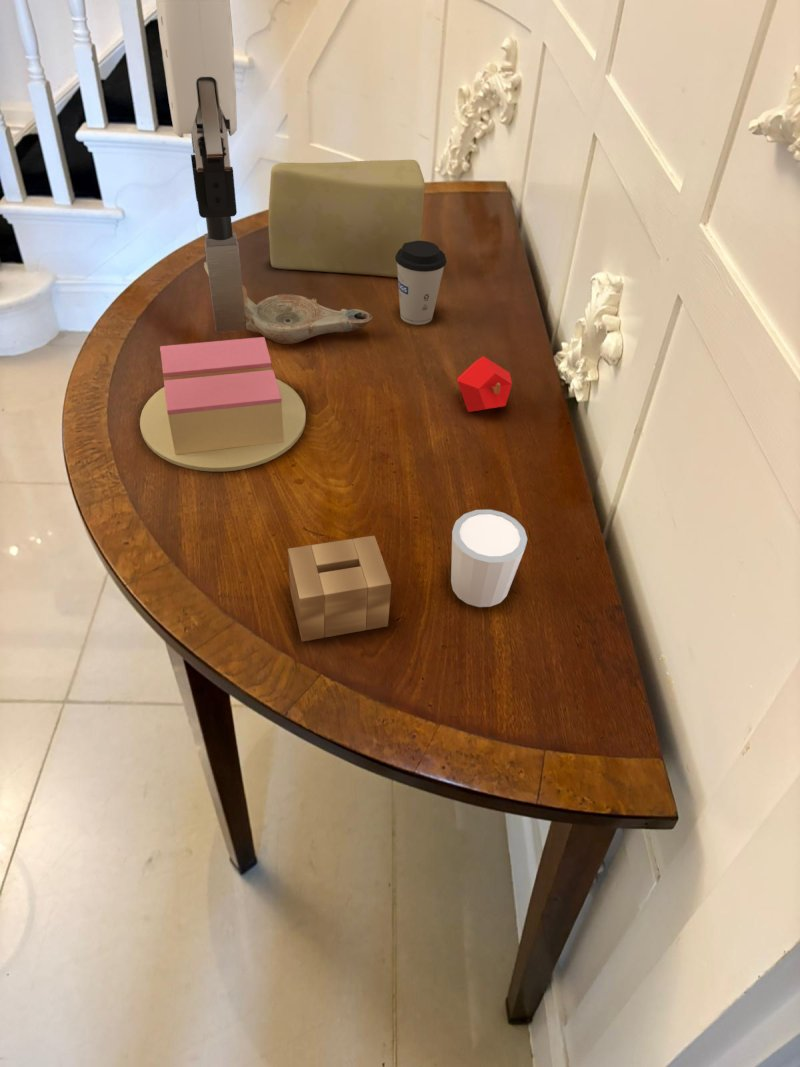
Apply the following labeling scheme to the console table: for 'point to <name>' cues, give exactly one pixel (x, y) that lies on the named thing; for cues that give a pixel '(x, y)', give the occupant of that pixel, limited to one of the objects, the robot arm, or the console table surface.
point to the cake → (221, 407)
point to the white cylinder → (485, 556)
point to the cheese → (344, 215)
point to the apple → (484, 385)
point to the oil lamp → (298, 318)
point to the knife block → (339, 587)
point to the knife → (224, 275)
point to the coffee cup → (419, 280)
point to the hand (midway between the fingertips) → (216, 206)
